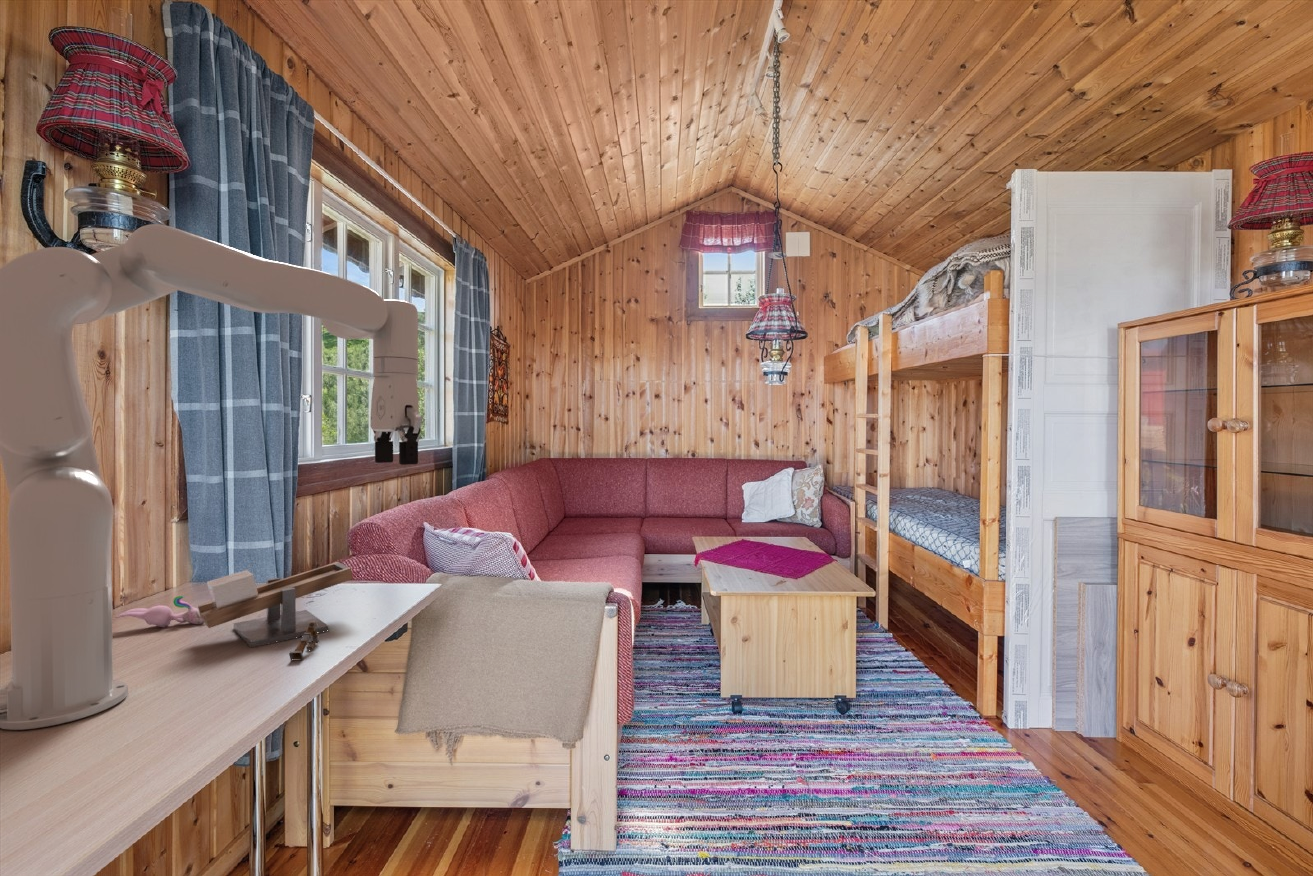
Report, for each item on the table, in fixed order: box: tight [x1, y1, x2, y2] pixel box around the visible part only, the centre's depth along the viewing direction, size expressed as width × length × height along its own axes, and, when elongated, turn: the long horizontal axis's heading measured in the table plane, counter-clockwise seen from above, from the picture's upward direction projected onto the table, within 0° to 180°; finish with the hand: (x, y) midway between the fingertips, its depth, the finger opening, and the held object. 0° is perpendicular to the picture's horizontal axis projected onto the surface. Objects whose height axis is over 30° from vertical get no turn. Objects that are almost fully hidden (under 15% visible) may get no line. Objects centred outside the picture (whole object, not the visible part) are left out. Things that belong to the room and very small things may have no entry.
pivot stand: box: [233, 577, 330, 648], centre depth 111 cm, size 12×14×8 cm
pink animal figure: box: [114, 595, 204, 628], centre depth 114 cm, size 6×6×15 cm
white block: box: [206, 569, 259, 611], centre depth 106 cm, size 6×5×5 cm
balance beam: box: [197, 561, 354, 629], centre depth 111 cm, size 23×8×2 cm, turn 135°
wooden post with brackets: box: [288, 620, 320, 661], centre depth 100 cm, size 2×8×4 cm, turn 7°
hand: (396, 463), depth 111 cm, fingers open, 9 cm apart
